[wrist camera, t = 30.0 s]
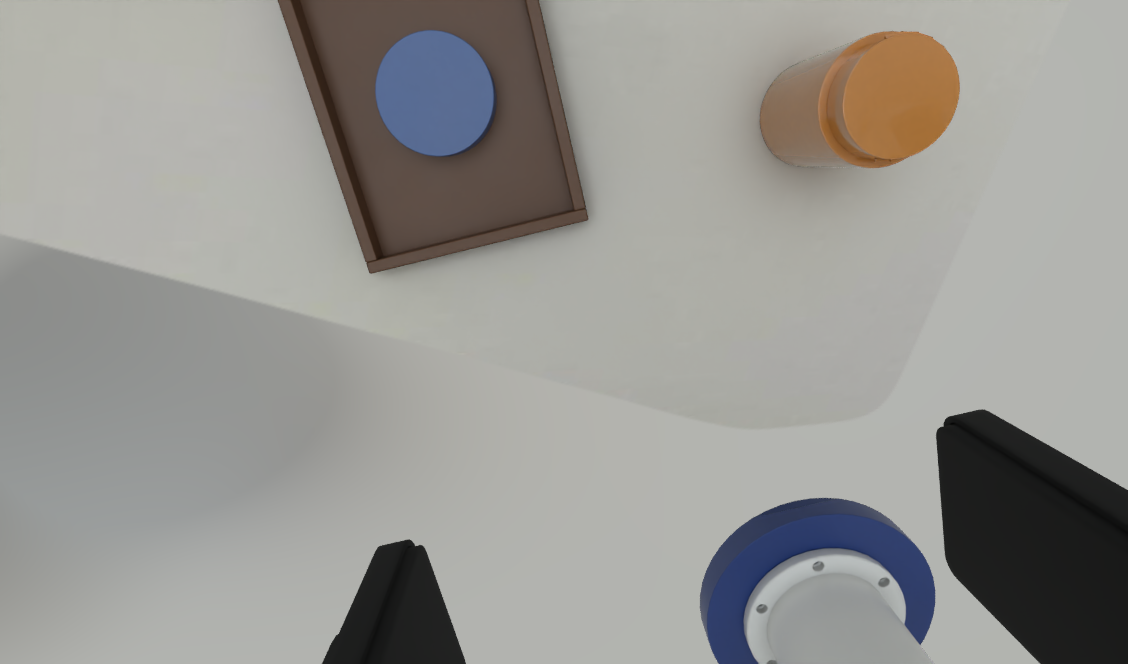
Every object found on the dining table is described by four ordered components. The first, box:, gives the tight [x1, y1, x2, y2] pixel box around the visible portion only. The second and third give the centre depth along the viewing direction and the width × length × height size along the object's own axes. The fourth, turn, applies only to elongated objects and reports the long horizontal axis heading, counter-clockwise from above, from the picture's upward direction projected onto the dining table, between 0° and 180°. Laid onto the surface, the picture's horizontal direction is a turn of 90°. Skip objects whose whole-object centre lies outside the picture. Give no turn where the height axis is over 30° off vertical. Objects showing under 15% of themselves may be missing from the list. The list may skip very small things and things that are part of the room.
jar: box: [760, 31, 960, 168], centre depth 31 cm, size 6×6×10 cm
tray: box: [278, 0, 588, 273], centre depth 34 cm, size 17×13×2 cm
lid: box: [375, 30, 497, 157], centre depth 33 cm, size 6×6×2 cm
